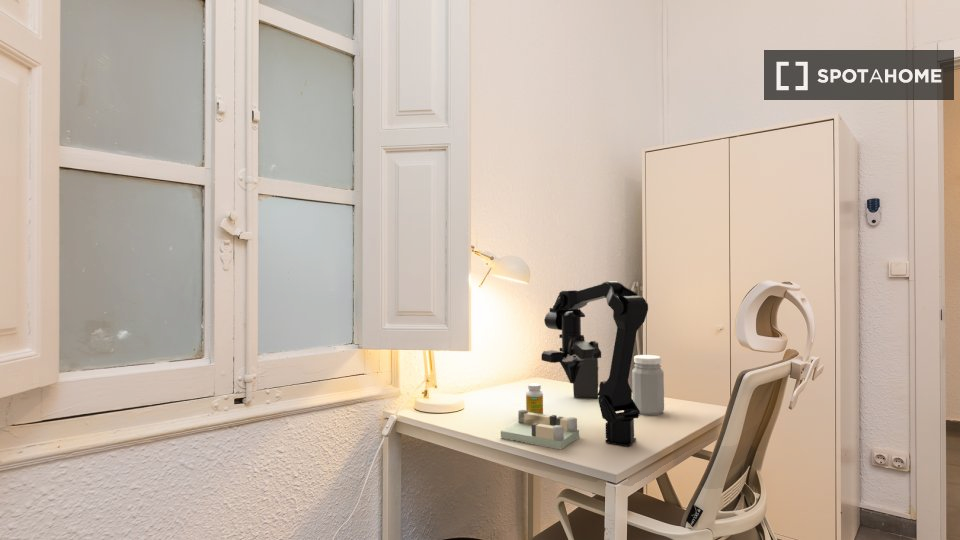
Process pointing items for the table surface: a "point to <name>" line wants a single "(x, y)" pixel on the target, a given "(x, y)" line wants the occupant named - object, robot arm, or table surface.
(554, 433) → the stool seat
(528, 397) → the supplement bottle
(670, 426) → the table surface
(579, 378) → the card reader
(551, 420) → the hinged leg
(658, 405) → the jar
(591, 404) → the table surface
